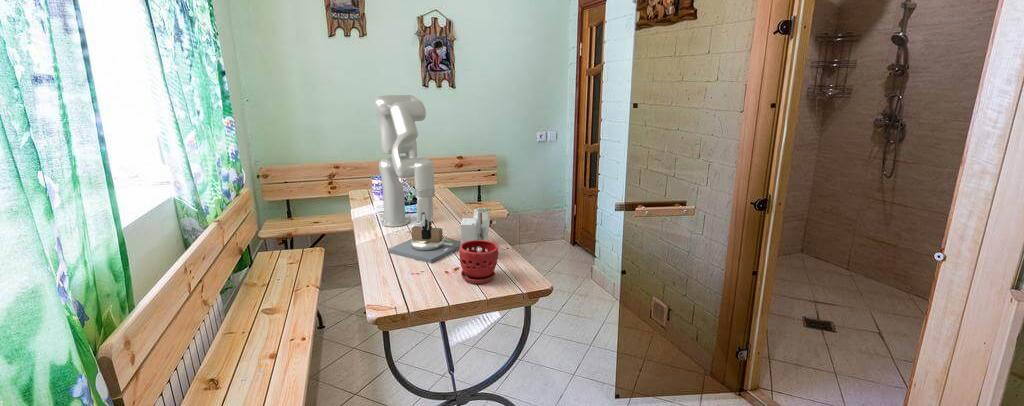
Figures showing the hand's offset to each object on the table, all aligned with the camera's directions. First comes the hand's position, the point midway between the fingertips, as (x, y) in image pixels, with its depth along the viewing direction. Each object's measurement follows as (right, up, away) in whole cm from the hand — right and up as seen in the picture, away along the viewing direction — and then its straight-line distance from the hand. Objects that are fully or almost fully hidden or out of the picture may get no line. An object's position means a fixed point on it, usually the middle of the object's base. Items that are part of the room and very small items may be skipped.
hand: (427, 236), depth 188 cm
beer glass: (+21, -4, +6) cm, 23 cm away
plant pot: (+23, -13, -26) cm, 37 cm away
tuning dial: (+2, -4, 0) cm, 4 cm away
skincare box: (+18, -8, -8) cm, 21 cm away
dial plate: (0, -5, +1) cm, 5 cm away
